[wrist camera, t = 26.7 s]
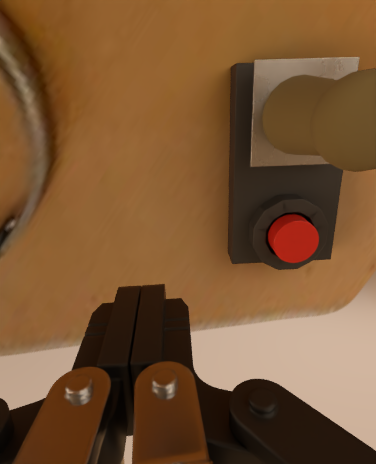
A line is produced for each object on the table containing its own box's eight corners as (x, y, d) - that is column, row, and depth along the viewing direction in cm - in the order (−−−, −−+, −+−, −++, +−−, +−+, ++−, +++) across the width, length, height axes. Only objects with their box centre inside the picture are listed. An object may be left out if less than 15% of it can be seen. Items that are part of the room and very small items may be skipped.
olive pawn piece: (247, 107, 26) (297, 109, 16) (315, 56, 25) (414, 24, 15) (286, 169, 28) (351, 207, 18) (350, 124, 27) (459, 138, 17)
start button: (269, 214, 30) (275, 221, 28) (312, 212, 30) (321, 219, 29) (266, 255, 32) (272, 264, 30) (308, 253, 32) (316, 262, 30)
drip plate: (253, 60, 25) (254, 59, 25) (357, 57, 26) (359, 56, 25) (249, 166, 28) (250, 166, 28) (343, 162, 28) (344, 163, 28)
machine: (230, 66, 29) (240, 60, 25) (342, 63, 30) (370, 57, 26) (227, 252, 36) (235, 272, 32) (319, 248, 36) (339, 267, 32)
